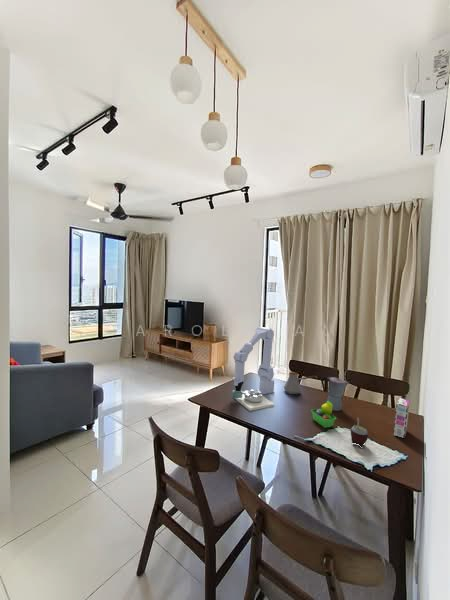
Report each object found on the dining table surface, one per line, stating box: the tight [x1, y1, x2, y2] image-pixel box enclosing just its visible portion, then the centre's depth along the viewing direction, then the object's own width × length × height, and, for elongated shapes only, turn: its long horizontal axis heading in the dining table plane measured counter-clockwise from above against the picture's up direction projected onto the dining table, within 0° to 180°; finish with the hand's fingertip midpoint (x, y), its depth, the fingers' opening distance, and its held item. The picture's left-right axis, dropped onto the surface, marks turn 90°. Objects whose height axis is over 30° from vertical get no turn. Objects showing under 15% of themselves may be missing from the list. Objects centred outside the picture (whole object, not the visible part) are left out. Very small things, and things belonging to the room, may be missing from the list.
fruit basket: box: [311, 400, 337, 429], centre depth 139 cm, size 11×9×11 cm
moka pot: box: [320, 375, 350, 412], centre depth 158 cm, size 10×15×20 cm, turn 78°
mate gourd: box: [350, 416, 369, 447], centre depth 120 cm, size 8×8×15 cm
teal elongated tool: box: [231, 389, 264, 403], centre depth 160 cm, size 18×11×5 cm, turn 94°
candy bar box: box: [393, 397, 411, 439], centre depth 133 cm, size 11×5×16 cm, turn 141°
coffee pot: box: [283, 372, 318, 395], centre depth 176 cm, size 21×12×15 cm, turn 57°
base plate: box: [234, 394, 275, 412], centre depth 161 cm, size 17×19×2 cm
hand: (237, 393), depth 161 cm, fingers closed, pressing on teal elongated tool
